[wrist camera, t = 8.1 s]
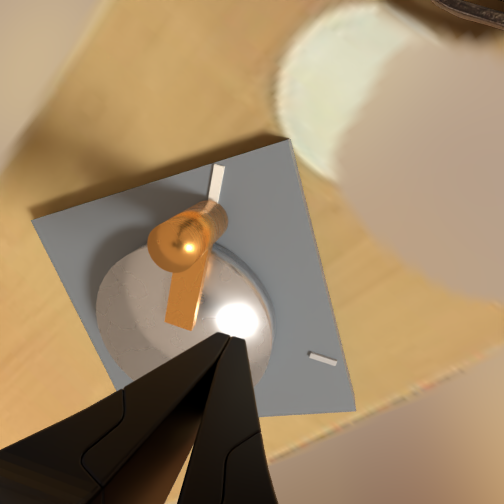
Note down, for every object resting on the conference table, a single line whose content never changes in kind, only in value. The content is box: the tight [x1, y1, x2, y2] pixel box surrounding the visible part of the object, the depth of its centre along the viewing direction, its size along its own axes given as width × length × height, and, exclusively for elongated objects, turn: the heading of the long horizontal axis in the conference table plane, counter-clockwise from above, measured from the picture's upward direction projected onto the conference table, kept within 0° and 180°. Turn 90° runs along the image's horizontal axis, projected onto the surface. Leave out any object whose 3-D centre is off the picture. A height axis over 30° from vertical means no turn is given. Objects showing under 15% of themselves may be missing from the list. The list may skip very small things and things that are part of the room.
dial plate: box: [31, 139, 356, 417], centre depth 24 cm, size 19×19×2 cm
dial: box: [96, 200, 276, 387], centre depth 20 cm, size 15×12×6 cm
